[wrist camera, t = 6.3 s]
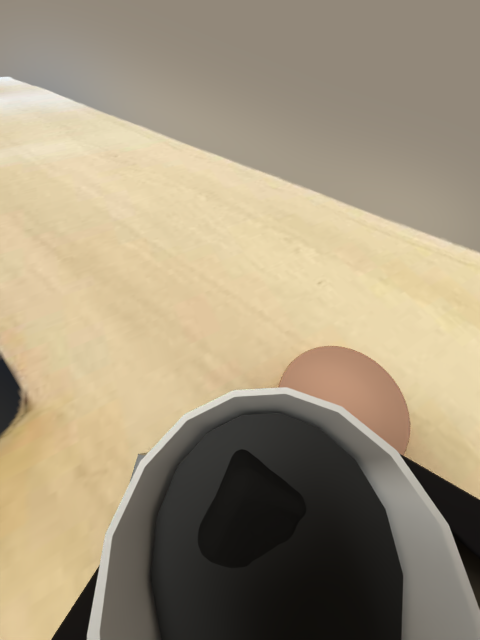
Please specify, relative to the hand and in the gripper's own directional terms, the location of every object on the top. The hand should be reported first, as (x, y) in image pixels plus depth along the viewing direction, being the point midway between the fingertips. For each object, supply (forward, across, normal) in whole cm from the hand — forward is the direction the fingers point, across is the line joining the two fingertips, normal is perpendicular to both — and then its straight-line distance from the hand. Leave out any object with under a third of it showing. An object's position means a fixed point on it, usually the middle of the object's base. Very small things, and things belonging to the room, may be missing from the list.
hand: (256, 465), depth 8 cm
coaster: (+10, -8, +8) cm, 15 cm away
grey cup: (+4, 0, +6) cm, 7 cm away
